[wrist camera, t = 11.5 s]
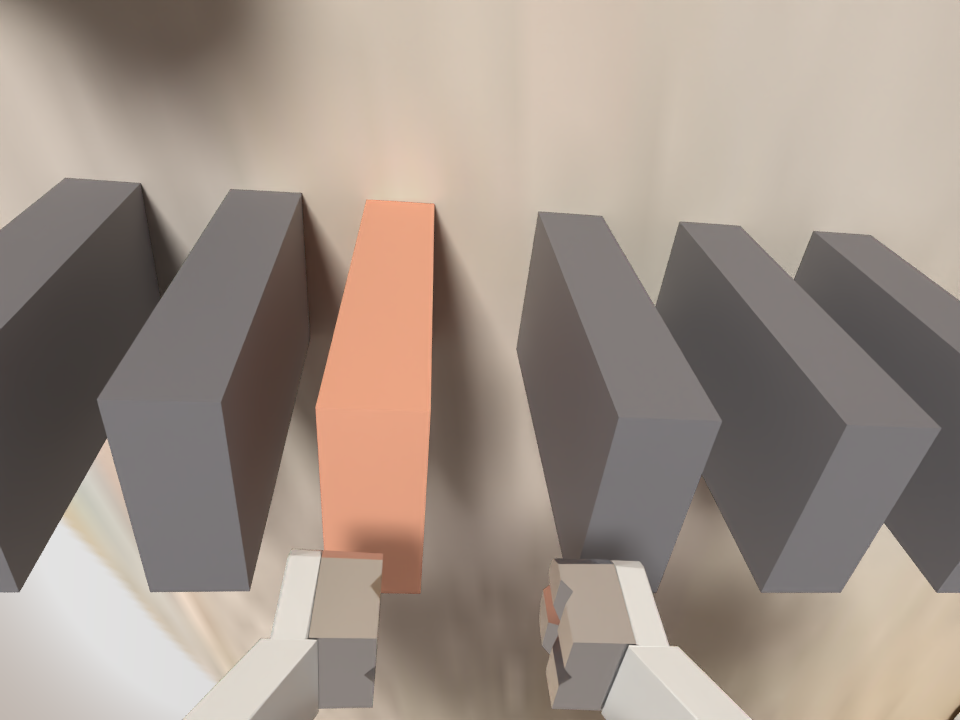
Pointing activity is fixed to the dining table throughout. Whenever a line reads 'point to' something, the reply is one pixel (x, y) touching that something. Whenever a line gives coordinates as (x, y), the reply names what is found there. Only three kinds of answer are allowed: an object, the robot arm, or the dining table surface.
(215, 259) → the domino
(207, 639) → the dining table surface
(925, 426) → the domino
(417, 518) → the domino
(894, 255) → the domino
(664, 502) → the domino
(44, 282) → the domino
